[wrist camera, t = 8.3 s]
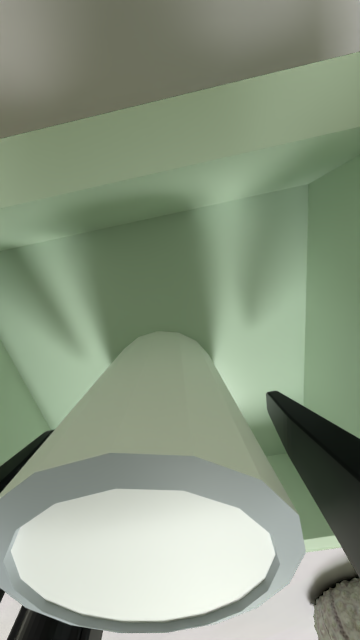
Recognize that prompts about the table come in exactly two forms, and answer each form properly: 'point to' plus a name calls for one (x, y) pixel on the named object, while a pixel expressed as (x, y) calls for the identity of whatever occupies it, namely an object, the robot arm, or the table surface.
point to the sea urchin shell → (339, 612)
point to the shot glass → (149, 503)
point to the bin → (191, 253)
